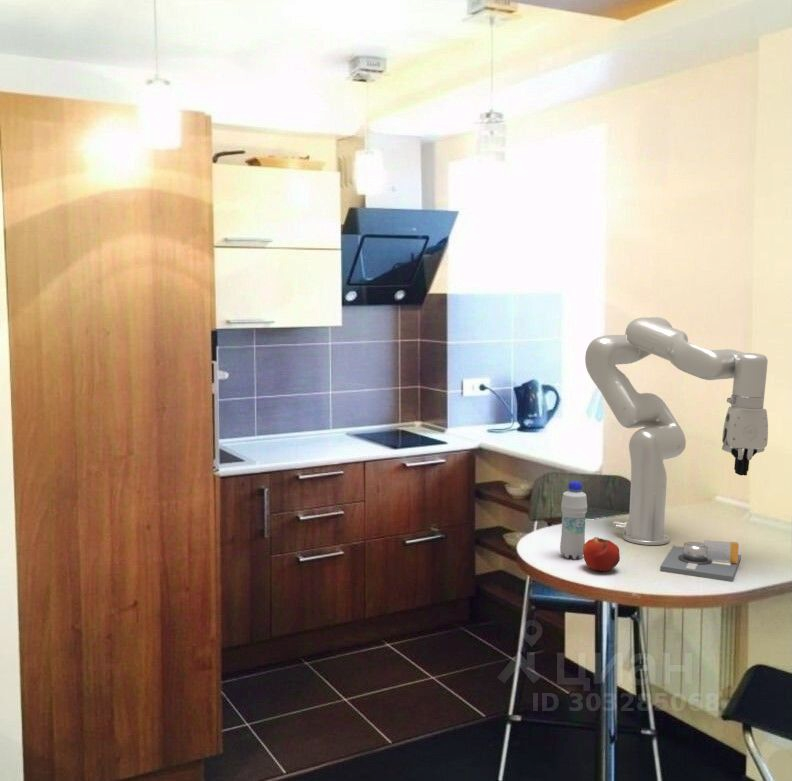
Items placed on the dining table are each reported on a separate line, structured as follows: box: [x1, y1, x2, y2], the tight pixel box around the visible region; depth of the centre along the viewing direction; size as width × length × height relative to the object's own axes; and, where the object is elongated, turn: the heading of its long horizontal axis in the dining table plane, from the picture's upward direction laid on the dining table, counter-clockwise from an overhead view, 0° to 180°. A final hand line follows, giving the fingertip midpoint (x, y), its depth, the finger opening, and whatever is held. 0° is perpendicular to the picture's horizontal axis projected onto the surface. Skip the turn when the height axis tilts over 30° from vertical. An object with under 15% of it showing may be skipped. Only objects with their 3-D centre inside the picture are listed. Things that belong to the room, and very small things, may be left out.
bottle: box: [559, 480, 588, 560], centre depth 237 cm, size 7×7×20 cm
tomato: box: [583, 536, 621, 572], centre depth 228 cm, size 9×9×8 cm
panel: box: [659, 545, 742, 582], centre depth 233 cm, size 17×20×2 cm
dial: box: [683, 539, 740, 563], centre depth 232 cm, size 13×6×5 cm, turn 74°
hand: (740, 474), depth 232 cm, fingers closed
